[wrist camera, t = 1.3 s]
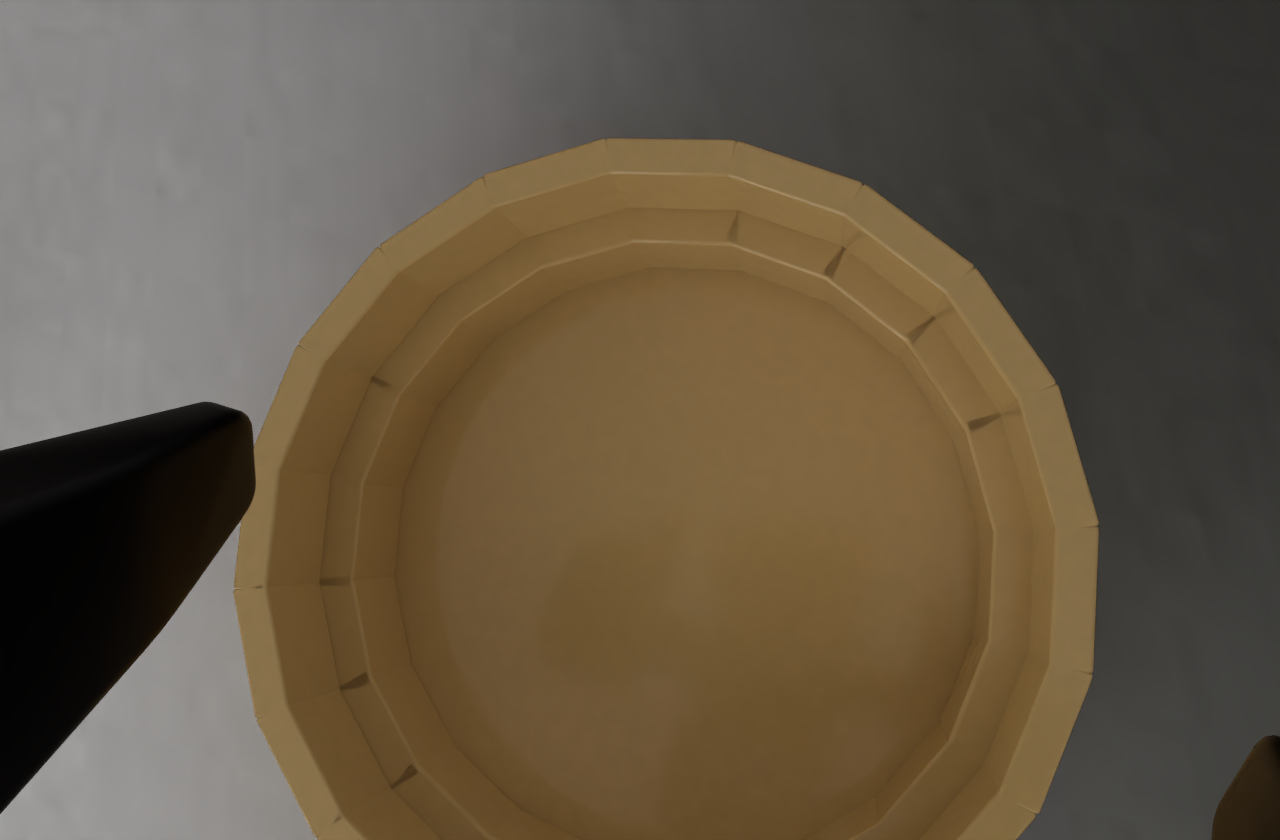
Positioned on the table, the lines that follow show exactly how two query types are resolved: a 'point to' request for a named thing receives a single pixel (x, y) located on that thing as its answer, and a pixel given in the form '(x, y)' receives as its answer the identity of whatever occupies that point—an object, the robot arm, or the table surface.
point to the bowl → (667, 521)
